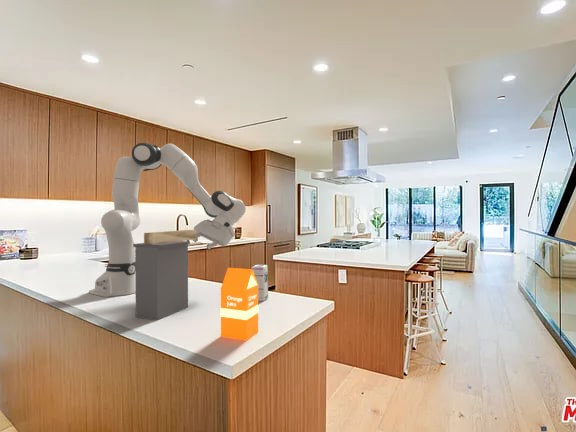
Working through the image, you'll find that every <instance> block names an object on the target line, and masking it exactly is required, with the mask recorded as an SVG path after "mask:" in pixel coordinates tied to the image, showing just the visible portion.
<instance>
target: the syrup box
mask: <svg viewBox="0 0 576 432" xmlns="http://www.w3.org/2000/svg"><path fill="white" fill-rule="evenodd" d="M250 269H252V270H253V273H254V275H255V278H256V281H257V283H258V302H265V301H266V300H268V298H269V277H268V274H269V273H268V271H269V270H268V264H255V265H253V266H251V268H250Z"/></svg>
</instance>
